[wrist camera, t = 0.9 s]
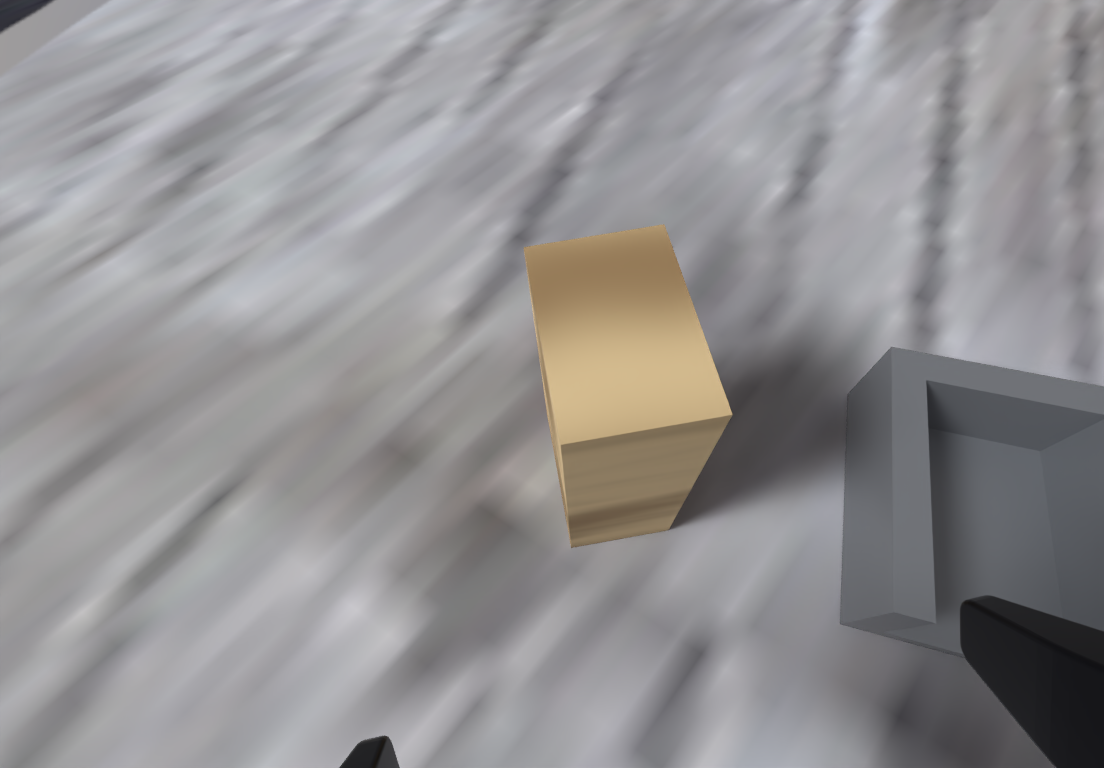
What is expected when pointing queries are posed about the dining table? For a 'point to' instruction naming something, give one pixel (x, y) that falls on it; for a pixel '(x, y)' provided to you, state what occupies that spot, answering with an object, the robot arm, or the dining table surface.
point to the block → (623, 380)
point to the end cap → (969, 496)
